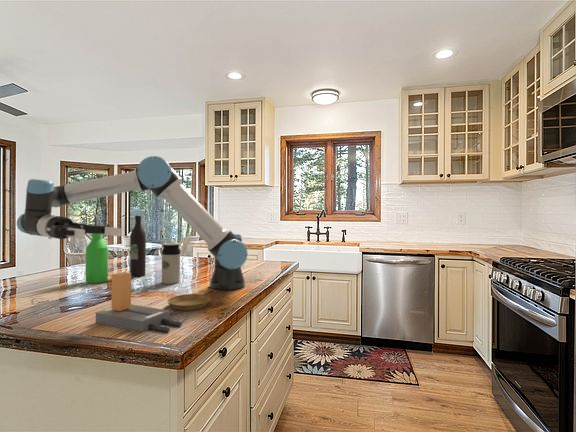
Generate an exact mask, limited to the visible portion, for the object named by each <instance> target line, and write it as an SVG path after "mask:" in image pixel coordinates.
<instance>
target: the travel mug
mask: <svg viewBox="0 0 576 432" xmlns="http://www.w3.org/2000/svg"><path fill="white" fill-rule="evenodd" d="M180 244H181V243H180V242H162V246H163V248H162V249H161V284H164V285H175V284H178V283H180V281H181V249H180Z"/></svg>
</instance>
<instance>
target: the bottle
mask: <svg viewBox="0 0 576 432" xmlns="http://www.w3.org/2000/svg"><path fill="white" fill-rule="evenodd" d="M108 277H109V247H108V245H107V244H106V242H105V241H104V240H103V234H97V233H91V240H90V241H89V243H88V245H87V246H86V247H85V282H87V283H88V284H102V283H105V282H107V280H108Z"/></svg>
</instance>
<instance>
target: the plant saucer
mask: <svg viewBox="0 0 576 432" xmlns="http://www.w3.org/2000/svg"><path fill="white" fill-rule="evenodd" d="M211 299H212V298H211V296H209V295H207V294H202V293H200V294H198V293H186V294H180V295H175V296H172V297H170V298H168V299H166V300H167V304H168V305H170V307H171V308H172V309H174V310H178V311H195V310H200V309H203V308H205V307H206V306H207V305H208V304H209V303H210V301H211Z"/></svg>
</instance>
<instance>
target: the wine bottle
mask: <svg viewBox="0 0 576 432" xmlns="http://www.w3.org/2000/svg"><path fill="white" fill-rule="evenodd" d="M134 219H135V222H134V227H133V228H132V230H131V232H130V237H129V238H130V239H129V240H130V241H129V242H130V243H129V245H130V246H129V273H131V278H142V276H143V277H145V276H146V261H147V260H146V255H147V254H146V251H147V247H146V246H147V244H146V243H147V242H146V241H147V240H146V239H147V238H146V236H147V235H146V232H145V230H144V228H143V225H142V216H141V215H135V216H134Z"/></svg>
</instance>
